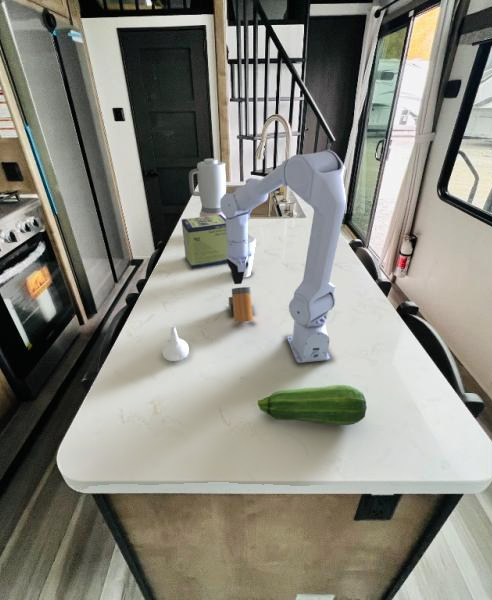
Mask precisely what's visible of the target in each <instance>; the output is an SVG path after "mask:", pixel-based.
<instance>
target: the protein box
mask: <svg viewBox="0 0 492 600" xmlns="http://www.w3.org/2000/svg"><path fill="white" fill-rule="evenodd" d="M181 228H182V237H183V247H184V257H185V260H186V261H187V263H188V265H189V267H190V268H191V270H193V269H201V268H206V267H212V266H217V265H224V264H228V263H227V257H226V253H227V242H226V219H225V218H224V217H223V216H222V215H221V214H219V215H212V216H204V217H200V216H197V217H187V218H182V219H181Z"/></svg>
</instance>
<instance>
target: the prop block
mask: <svg viewBox="0 0 492 600" xmlns="http://www.w3.org/2000/svg"><path fill="white" fill-rule="evenodd" d="M251 304H253V303H252V301H251ZM228 311H229V315H230V317H234V310H233V299H232V296H229V297H228Z"/></svg>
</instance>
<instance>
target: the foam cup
mask: <svg viewBox="0 0 492 600" xmlns="http://www.w3.org/2000/svg"><path fill="white" fill-rule="evenodd" d="M256 246H257V239H256V237H255V236H254V235H252V234H249V233H248V251H250V252H251V253H252V256H249V257H248V259H247V261H248V267H247V268H246V271H245V272H244V276H243V279H246V278H248V277H250V276H251V273H252V268H253V261H254V255H255V248H256Z"/></svg>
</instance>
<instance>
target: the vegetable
mask: <svg viewBox="0 0 492 600" xmlns="http://www.w3.org/2000/svg"><path fill="white" fill-rule="evenodd" d="M257 405H258V408H259V410H260V411H261V412H264V413H265V414H267V415H269V416H270V417H271V418H272V419H275V420H280V421H301V422H304V421H305V422H309V423H310V422H312V423H315V424H317V423H318V424H323V425H329V426H351V425H355V424H357V423H359V422H360V421H362V420H363V419H364V418H365V417H366V412H367V408H368V407H367V401H366V398H365V395H364V394H363V392H362V391H360V390H359V389H358V388H355V387H353V386H350V385H347V384H346V385H345V384H336V385H334V384H333V385H328V386H317V387H303V388H295V389H287V390H285V389H284V390H278V391H274V392H272V393H271V395H268V396H265V397H263V398H262V399H259V400H257Z"/></svg>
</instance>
